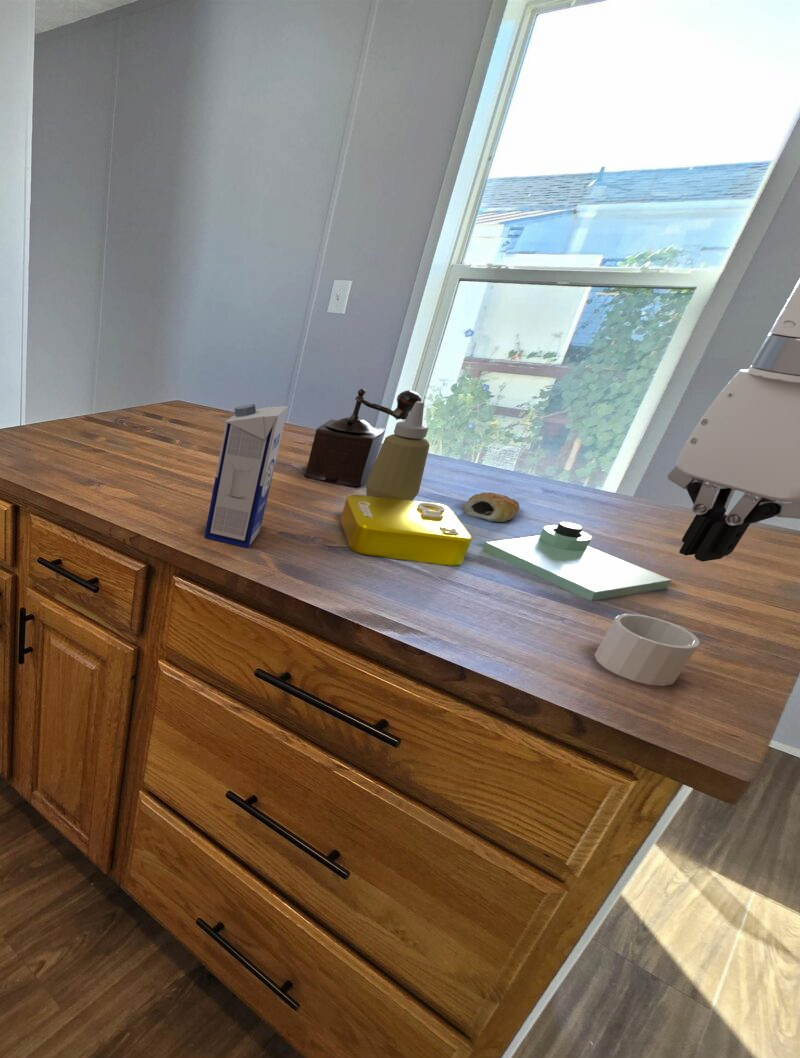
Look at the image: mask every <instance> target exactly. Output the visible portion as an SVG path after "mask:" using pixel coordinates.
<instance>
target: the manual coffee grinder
mask: <svg viewBox="0 0 800 1058" xmlns="http://www.w3.org/2000/svg"><path fill="white" fill-rule="evenodd" d="M366 394H367V391H366V389H365V388H360V389H359V390H357V396H356V397H355V401H356V402H355V404H354V409H353V412H352V414H351V416H346V417H343V418H341V419H329V420H328V421H326V422H325V423H323V424H322V425H319V426H318V427H317V428H316V430H315V433H314V438H313V441H312V445H311V449H310V454H309V458H308V461H307V466H306V470H305V472H304V477H305V478H309V479H314V480H318V481H323V482H327V483H331V484H339V485H344V486H350V487H356V488H360V487H363V486H364V485H366V482H367V480H368V477H369V475H370V473H371V470H372V468H373V466H374V463H375V461H376V459H377V456H378V454H379V452H380V449H381V446H382V445H381V444H382V442H383V438H384V436H385V432H386V428H383V427H379V426H374V425H371V424H370V423H369V422H367V421H366V420H365V419H363V418H359V413H360V411H361V408H362V407H361V406H362V404H363V405H364V406H366V407H367V408H370V409H372V410H373V409H374V410H376V411H379V412H381V413H385V414H387V415H389V416H391V417H393V418H394V419H395V421H398V420H402V421H405V420H406V418H407V416H408V415H409V413H410V411H411V409H412V408H413V406H414V404H415V403H416V402H417V401H419V402H422V397H421V396H420V394H419V393H418V392H417V391H414V390H411V389H408V390H403V391H401V392H400V393H399V394H398V395H397V396H396V407H395V409H394V410H392V409H390V408H389V407H386V406H383V405H380V404H376V403H373V402H371V401H368V400H367V399H365V395H366Z"/></svg>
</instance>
